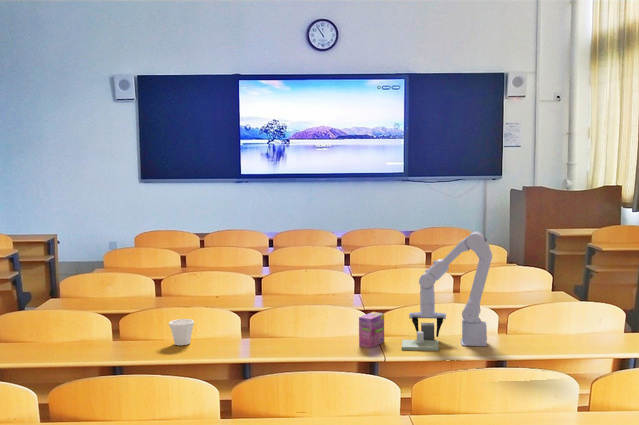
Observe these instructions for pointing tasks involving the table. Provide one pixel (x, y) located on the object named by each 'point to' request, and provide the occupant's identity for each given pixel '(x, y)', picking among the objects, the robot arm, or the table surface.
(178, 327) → the cup
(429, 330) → the cap
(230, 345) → the table surface
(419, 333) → the post
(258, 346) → the table surface
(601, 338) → the table surface
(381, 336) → the box
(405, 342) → the board
